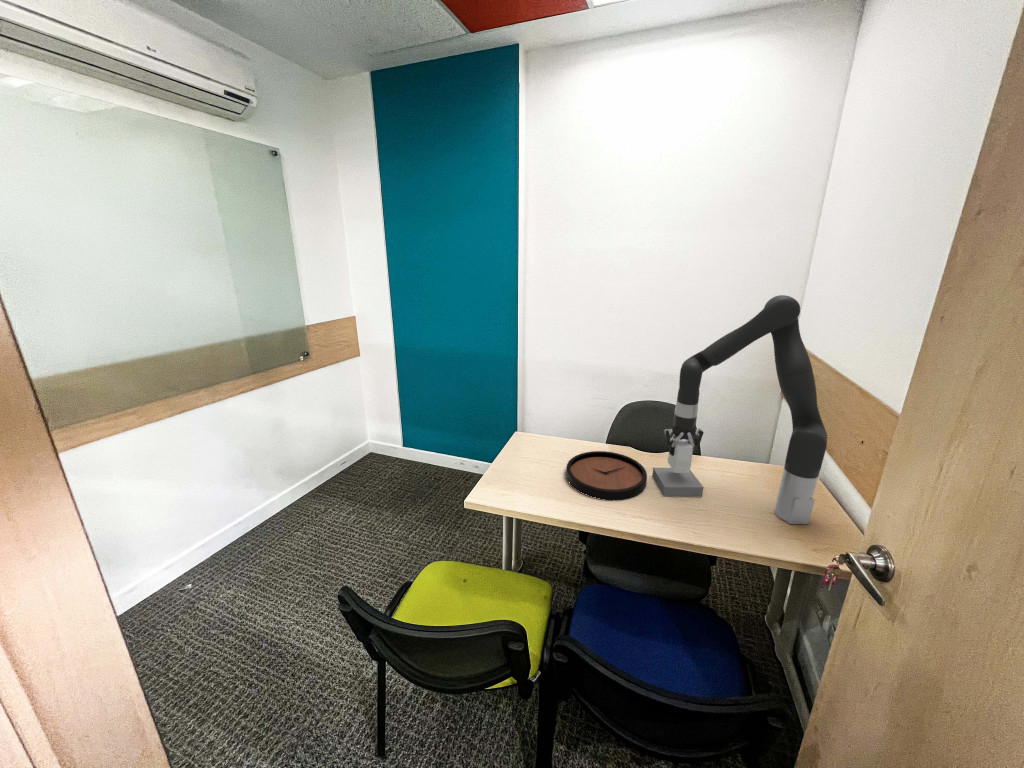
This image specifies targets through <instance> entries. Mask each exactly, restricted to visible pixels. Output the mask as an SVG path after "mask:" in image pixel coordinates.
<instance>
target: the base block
mask: <svg viewBox="0 0 1024 768" xmlns="http://www.w3.org/2000/svg"><path fill="white" fill-rule="evenodd" d="M652 478H653V480H654V482H655V484H656V485H657V487H658V489H659V490H660V492H661V494H662V496H663V497H675V498H677V497H681V498H682V497H683V498H684V497H691V498H692V497H693V498H694V497H695V498H696V497H697V498H698V497H699V498H702V497H703V493H704V486H703V484H702V483H701V482H700V481H699V479H698V478H697V477H696V475H695V473H693V471H692V470H691V469H690V473H675V472H674V470H673V469H672V467H652Z"/></svg>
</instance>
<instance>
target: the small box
mask: <svg viewBox="0 0 1024 768" xmlns="http://www.w3.org/2000/svg"><path fill="white" fill-rule="evenodd" d="M671 439H672V437H671V438H670V441H671ZM674 447H675V451H674V456H671V454H670V453H669V452H668V457H667V463H668V465H669V466H670V468H672V469H673V470H674V472H675V473H690V470H691V467H692V459H693V454H694V447H692V446H691V445H690V444H689V442H688V440H685V439H683V440H679V442H678V443H676V445H675V446H674Z"/></svg>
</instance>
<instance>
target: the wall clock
mask: <svg viewBox="0 0 1024 768" xmlns="http://www.w3.org/2000/svg"><path fill="white" fill-rule="evenodd" d="M565 471H566V473H565V477H566V476H567V478H566V480H567V479H568V481H569V482H570V484H571V485H572V486H573V487H574V488H576V489H577V490H579V491H580V492H582V493H584V494H587V495H589V496H588V497H590V496H592V497H591V498H593V497H596V498H595V499H597V498H600V499H599V500H602V499H605V500H604V501H613V500H615V501H624V500H625V499H626V500H631V499H632V498H633V499H634V498H635V497H638V496H639V495H641V494H642V493H643V492H644V491H645V490H646V487H647V480H648V479H647V478H648V474H647V470H646V469H645V467H644V466H643V465H642V464H641V463H640V462H638V460H636V459H634V458H632V457H630V456H627V455H624V454H621V453H617V452H613V451H603V450H602V451H601V450H596V451H595V450H593V451H592V450H591V451H586V452H581V453H579V454H577V455H574V456H573V457H571V458H570V459H569V460H568V461H567V463H566V470H565ZM568 481H567V482H568ZM569 482H568V483H569ZM570 484H569V485H570ZM571 485H570V486H571ZM572 486H571V487H572ZM573 487H572V488H573ZM574 488H573V489H574ZM577 490H576V491H577ZM579 491H578V492H579ZM580 492H579V493H580ZM582 493H581V494H582ZM584 494H583V495H584ZM587 495H586V496H587Z"/></svg>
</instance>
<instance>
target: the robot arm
mask: <svg viewBox="0 0 1024 768" xmlns="http://www.w3.org/2000/svg"><path fill="white" fill-rule="evenodd" d="M800 314H801V305H800V302H799V301H798V300H796V298H794V297H792V296H789V295H783V294H782V295H781V294H780V295H779V294H778V295H775V296H772V297H771V298H770V299H769V300H768V301H766V303H765V305H764V307H763V309H762V310H761V311H759V312H758V313H757V314H756V315H755V316H754V317H753V318H751V319H749V321H747V322H745V323H744V324H743V325H741V326H739V327H737V328H736V329H733V330H732V331H731V332H728V333H726V334H725V335H723V336H722V337H720V338H719V339H717V340H716V341H714V342H713V343H711V344H710V345H708V346H707V347H706V348H704V349H703V350H700V351H699V352H697V353H695V354H693V355H691V356H690V357H688V358H687V359H686V360H684V361H683V362H682V364H681V367H680V371H679V384H678V385H679V386H678V390H677V398H676V403H675V408H674V416H673V423H672V427H671V428H668V429H667V428H664V429H663V437H664V443H665V445H667V446H668V454H669V453H670V454H671V456H674V451H675V447H674V446H675V445H676V443H678V442H679V440H683V439H685V440H687V441H688V442H689V444H690V445H691V446H692V447H693V448H694V447H698V446H700V445H701V441H702V439H703V435H704V430H702V429H701V428H696V426H697V418H698V411H699V400H700V387H701V383H702V378H703V373H704V372H706V371H707V370H708V369H710V368H712V367H713V366H714V367H716V366H718V365H721V364H722V363H724V362H726V361H727V360H729V359H730V358H732V357H733V356H735V355H736V354H738V353H739V352H740V351H742V350H744V349H745V348H747V347H748V346H750V345H751V344H752V343H754V342H755V341H757V340H759V339H761V338H762V337H764V336H766V335H769V334H771V337H772V341H773V353H774V354H773V355H774V363H775V364H774V365H775V370H776V375H777V380H778V384H779V388H780V390H781V393H782V395H783V397H784V399H785V402H786V403H787V406H788V407H789V410H790V416H791V423H792V432H791V435H790V438H789V441H788V446H787V447H788V448H787V451H786V457H785V461H784V467H783V471H782V476H781V478H780V484H779V489H778V493H777V497H776V502H775V507H774V511H773V512H774V514H775V515H776V516H777V517H778V518H779V519H781V520H783V521H785V522H787V523H788V524H790V525H809V523H810V519H811V516H812V512H813V507H814V504H815V499H814V495H815V490H816V487H817V483H818V480H819V479H818V478H819V475H820V472H821V470H822V465H823V462H824V458H825V454H826V451H827V447H828V446H827V445H828V433H827V430H826V428H825V425H824V423H823V420H822V417H821V414H820V411H819V407H818V395H817V387H816V380H815V375H814V371H813V366H812V362H811V359H810V356H809V354H808V351H807V349H806V346H805V344H804V342H803V338H802V336H801V332H800V325H799V324H800V323H799V317H800ZM672 433H673V435H672ZM671 435H672V436H671ZM694 435H695V436H694ZM670 436H671V438H672V439H671V438H670ZM693 436H694V439H693ZM670 439H671V441H670Z"/></svg>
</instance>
